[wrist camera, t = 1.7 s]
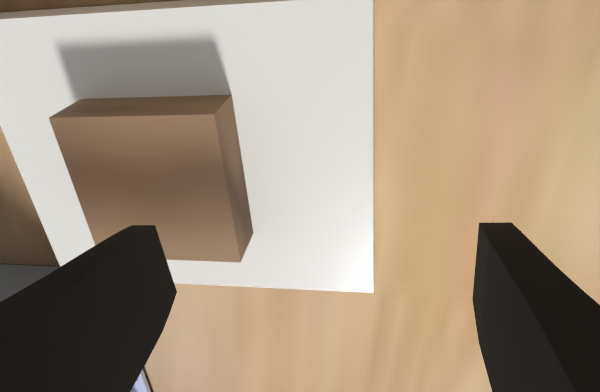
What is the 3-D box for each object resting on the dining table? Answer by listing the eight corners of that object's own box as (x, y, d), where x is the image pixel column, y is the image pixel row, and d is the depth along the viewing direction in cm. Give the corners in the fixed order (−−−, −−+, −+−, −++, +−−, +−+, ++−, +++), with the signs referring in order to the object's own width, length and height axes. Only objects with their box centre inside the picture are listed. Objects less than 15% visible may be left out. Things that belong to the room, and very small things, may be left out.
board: (374, 264, 22) (373, 292, 20) (87, 253, 25) (64, 278, 23) (374, -13, 16) (372, -5, 14) (-5, 12, 19) (-44, 22, 17)
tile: (253, 232, 20) (240, 262, 18) (123, 229, 21) (99, 256, 19) (231, 94, 17) (214, 114, 15) (80, 98, 18) (48, 117, 16)
